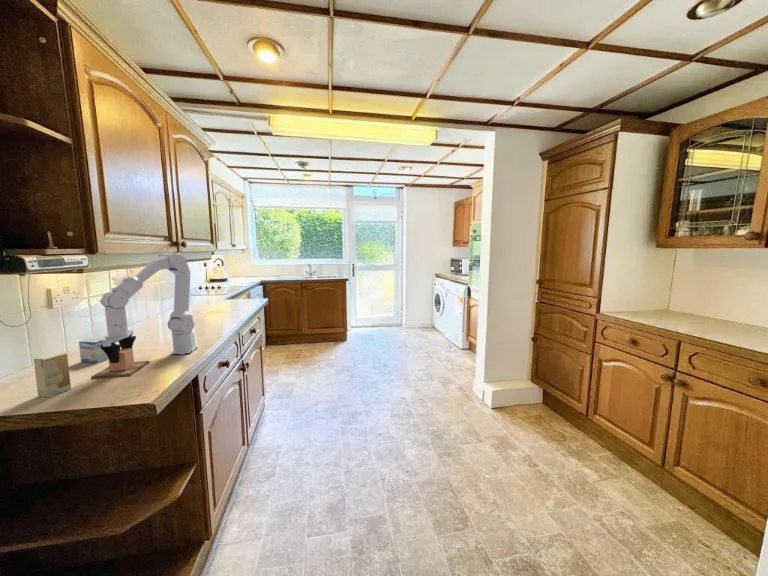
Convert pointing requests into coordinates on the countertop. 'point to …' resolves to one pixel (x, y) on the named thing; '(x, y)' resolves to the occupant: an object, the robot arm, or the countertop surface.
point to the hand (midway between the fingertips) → (121, 359)
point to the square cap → (123, 360)
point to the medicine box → (92, 351)
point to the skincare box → (52, 374)
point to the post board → (120, 371)
